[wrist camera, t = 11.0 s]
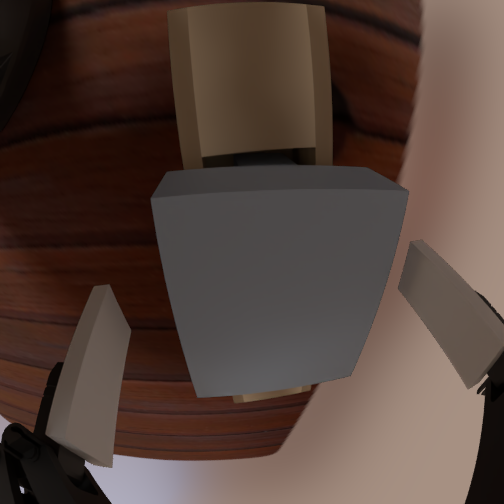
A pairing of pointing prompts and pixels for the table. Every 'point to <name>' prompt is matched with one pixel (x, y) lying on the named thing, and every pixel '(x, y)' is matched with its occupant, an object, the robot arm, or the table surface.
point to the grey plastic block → (275, 268)
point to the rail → (252, 89)
